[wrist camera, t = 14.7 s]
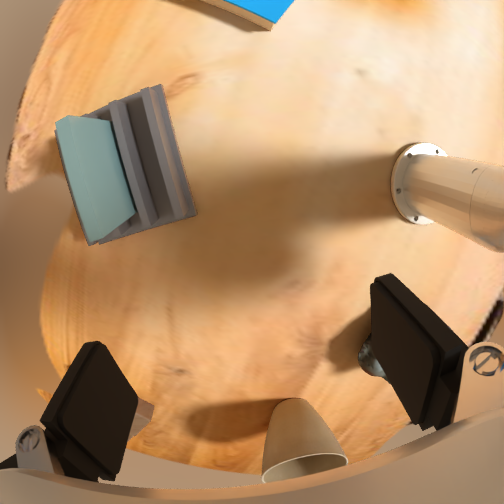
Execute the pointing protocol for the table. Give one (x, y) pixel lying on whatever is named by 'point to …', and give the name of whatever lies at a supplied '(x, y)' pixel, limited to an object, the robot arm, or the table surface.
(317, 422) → the plant pot
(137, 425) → the wooden block set
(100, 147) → the thin teal board
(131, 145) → the dish rack
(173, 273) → the table surface
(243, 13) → the book
